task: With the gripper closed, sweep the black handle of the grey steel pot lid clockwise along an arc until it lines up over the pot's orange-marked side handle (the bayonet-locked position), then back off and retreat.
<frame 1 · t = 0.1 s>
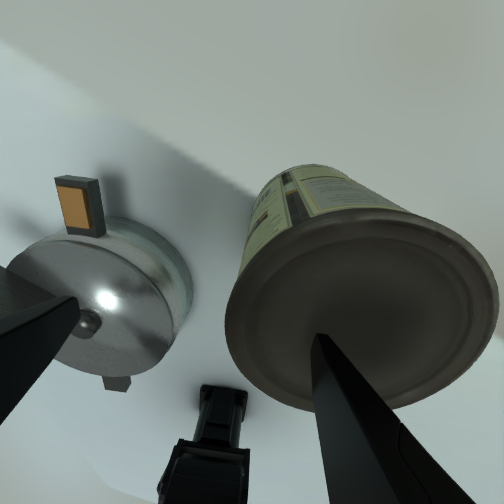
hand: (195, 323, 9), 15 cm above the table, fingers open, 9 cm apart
lid: (47, 318, 19), point 8 cm above the table, hinge at 60.0°
coffee can: (307, 221, 22), on the table
pot: (125, 282, 27), on the table
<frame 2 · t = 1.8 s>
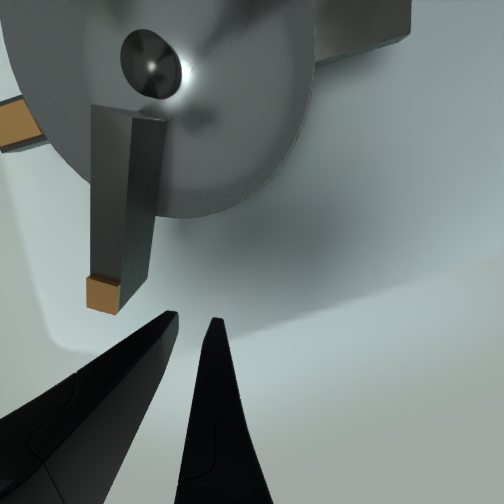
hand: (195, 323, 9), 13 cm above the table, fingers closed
lid: (137, 122, 11), point 8 cm above the table, hinge at 60.0°
pot: (194, 90, 17), on the table
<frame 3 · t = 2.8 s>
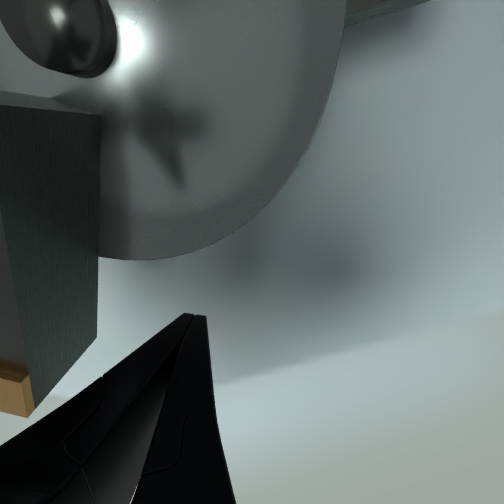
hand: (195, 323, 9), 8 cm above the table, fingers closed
lid: (34, 115, 6), point 8 cm above the table, hinge at 60.0°
pot: (162, 73, 12), on the table
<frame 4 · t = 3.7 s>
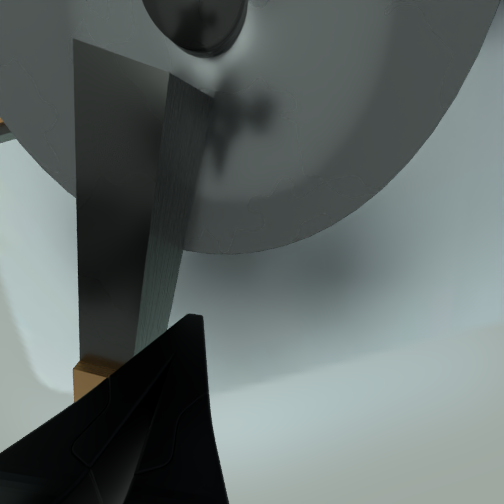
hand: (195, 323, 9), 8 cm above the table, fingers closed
lid: (165, 95, 6), point 8 cm above the table, hinge at 60.0°, touching gripper
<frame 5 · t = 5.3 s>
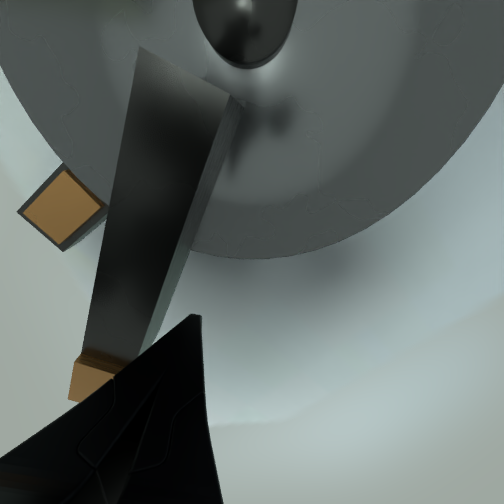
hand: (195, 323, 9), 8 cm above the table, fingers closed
lid: (204, 103, 6), point 8 cm above the table, hinge at 29.4°, touching gripper
pot: (255, 65, 12), on the table
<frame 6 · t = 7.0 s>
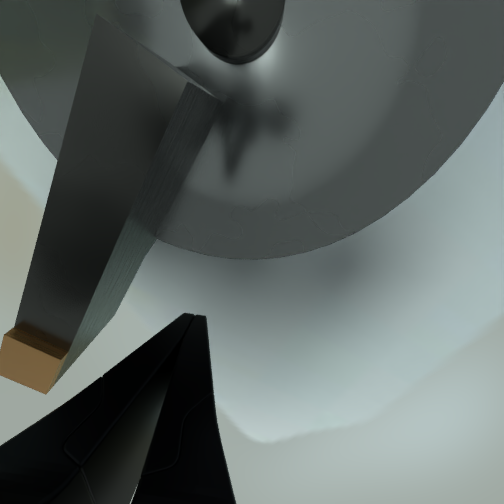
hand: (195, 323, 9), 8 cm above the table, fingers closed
lid: (177, 89, 6), point 8 cm above the table, hinge at 5.1°
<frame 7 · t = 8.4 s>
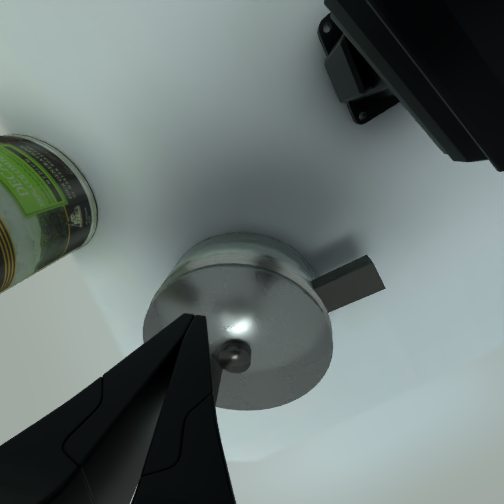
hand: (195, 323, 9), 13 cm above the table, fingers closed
lid: (209, 379, 18), point 8 cm above the table, hinge at 5.1°
coffee can: (40, 198, 21), on the table
pot: (243, 302, 24), on the table
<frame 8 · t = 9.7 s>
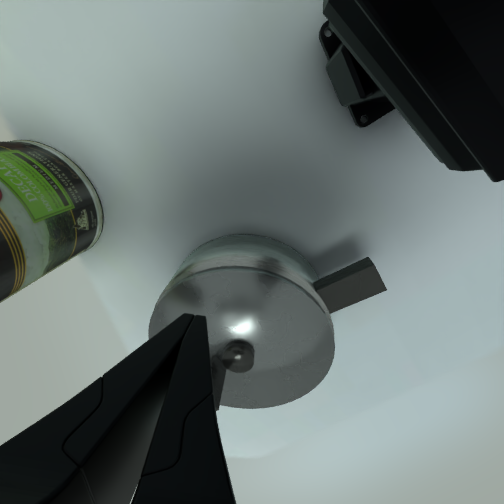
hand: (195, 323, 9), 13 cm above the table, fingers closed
lid: (213, 379, 19), point 8 cm above the table, hinge at 5.1°
coffee can: (48, 202, 22), on the table
pot: (246, 303, 25), on the table
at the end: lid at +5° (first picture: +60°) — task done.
